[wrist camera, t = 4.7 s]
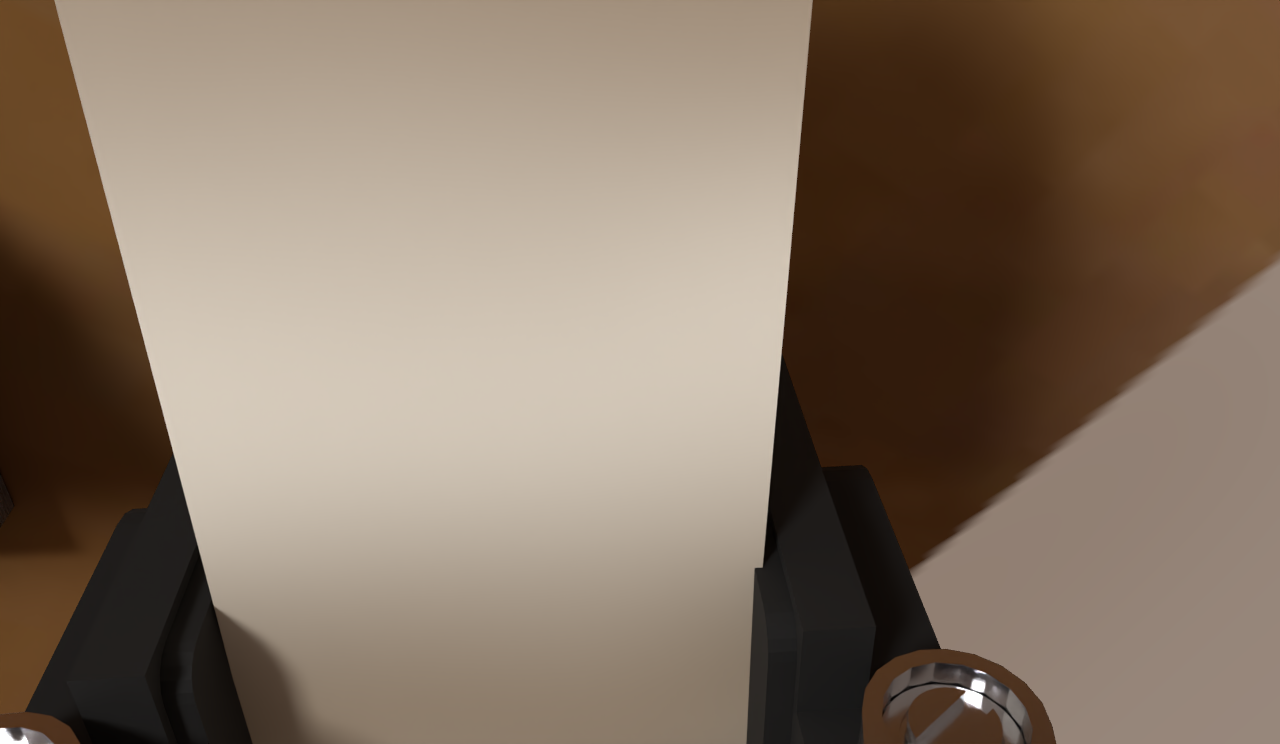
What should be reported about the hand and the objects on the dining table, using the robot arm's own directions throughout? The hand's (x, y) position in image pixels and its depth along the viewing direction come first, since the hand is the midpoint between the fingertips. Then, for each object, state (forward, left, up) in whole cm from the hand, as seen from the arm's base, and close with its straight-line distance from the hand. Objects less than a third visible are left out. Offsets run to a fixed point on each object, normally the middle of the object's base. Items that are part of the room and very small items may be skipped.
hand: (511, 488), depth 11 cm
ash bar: (0, 0, -1) cm, 1 cm away
